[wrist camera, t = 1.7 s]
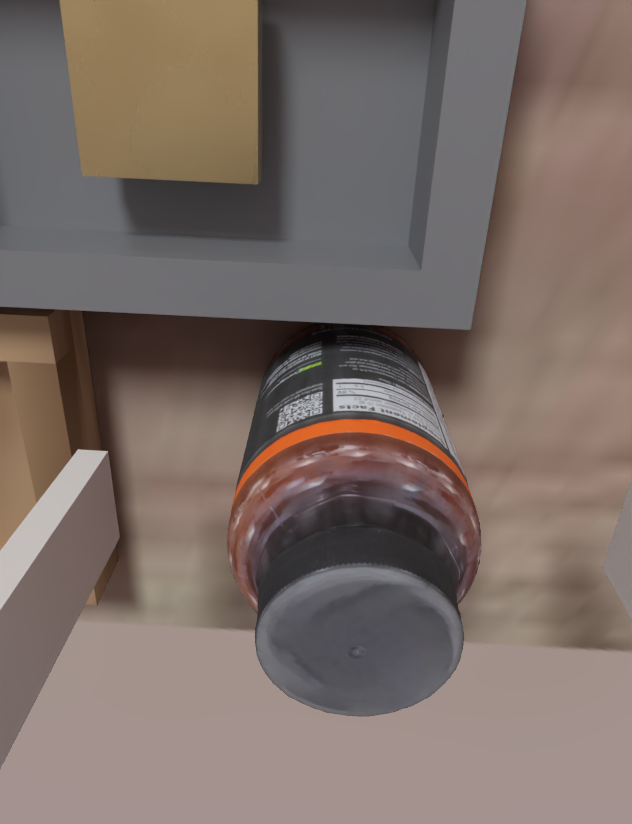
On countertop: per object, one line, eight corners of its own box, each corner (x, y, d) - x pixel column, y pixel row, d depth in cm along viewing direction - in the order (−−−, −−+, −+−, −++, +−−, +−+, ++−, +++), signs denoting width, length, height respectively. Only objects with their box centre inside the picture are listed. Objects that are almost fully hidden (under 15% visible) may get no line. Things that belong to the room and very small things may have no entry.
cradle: (-47, 263, 19) (-131, 299, 16) (-154, -194, 14) (-314, -290, 11) (445, 288, 19) (470, 329, 16) (510, -163, 14) (569, -249, 11)
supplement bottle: (364, 490, 23) (387, 788, 13) (231, 413, 22) (143, 681, 12) (464, 373, 21) (586, 627, 11) (322, 279, 19) (310, 469, 9)
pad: (96, 171, 16) (82, 176, 15) (71, -33, 14) (54, -42, 13) (261, 179, 16) (257, 184, 15) (262, -24, 14) (257, -32, 13)
